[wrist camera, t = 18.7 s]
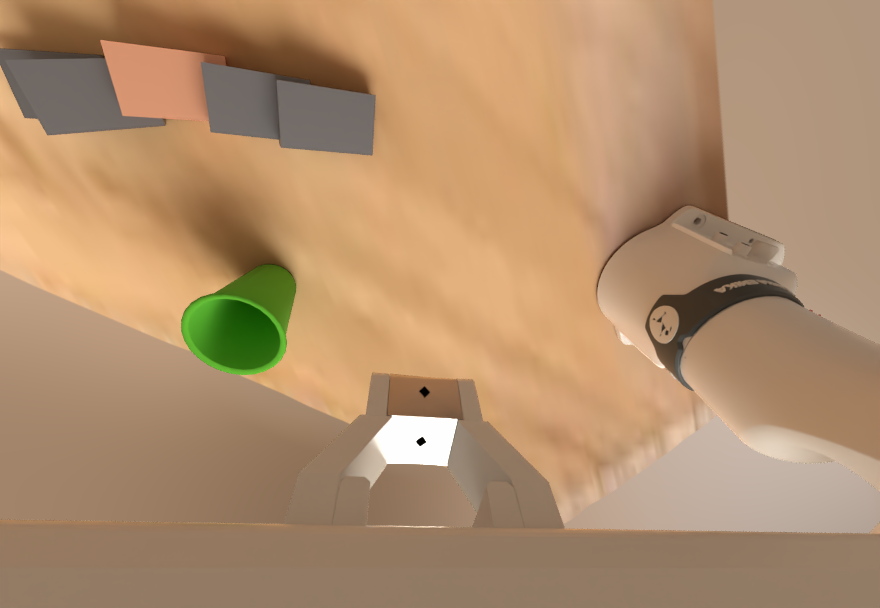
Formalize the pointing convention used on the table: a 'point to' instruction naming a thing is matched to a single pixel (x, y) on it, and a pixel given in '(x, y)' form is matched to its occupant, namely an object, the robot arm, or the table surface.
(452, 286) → the table surface
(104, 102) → the domino
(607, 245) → the table surface
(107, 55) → the domino
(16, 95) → the domino
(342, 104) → the domino
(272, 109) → the domino
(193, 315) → the cup
